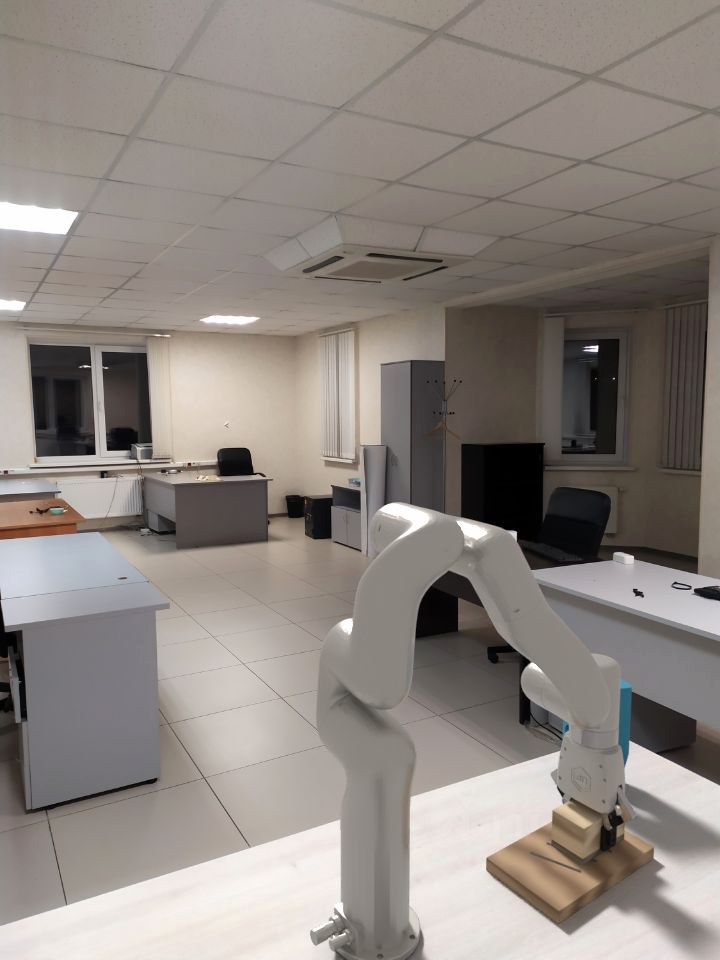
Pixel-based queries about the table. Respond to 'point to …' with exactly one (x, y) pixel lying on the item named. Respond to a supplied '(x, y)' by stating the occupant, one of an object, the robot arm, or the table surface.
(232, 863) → the table surface
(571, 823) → the block
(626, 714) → the block
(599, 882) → the oak board
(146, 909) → the table surface
